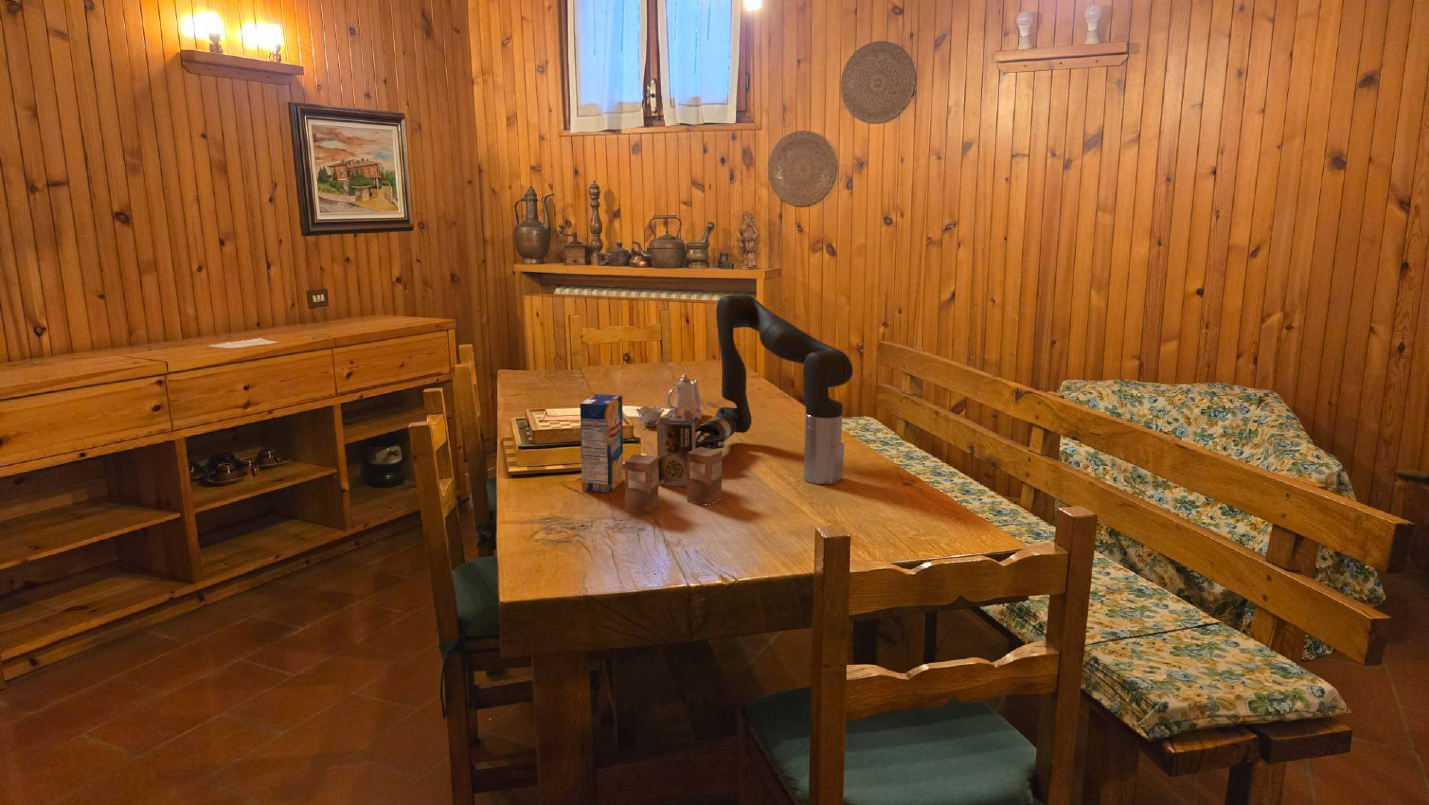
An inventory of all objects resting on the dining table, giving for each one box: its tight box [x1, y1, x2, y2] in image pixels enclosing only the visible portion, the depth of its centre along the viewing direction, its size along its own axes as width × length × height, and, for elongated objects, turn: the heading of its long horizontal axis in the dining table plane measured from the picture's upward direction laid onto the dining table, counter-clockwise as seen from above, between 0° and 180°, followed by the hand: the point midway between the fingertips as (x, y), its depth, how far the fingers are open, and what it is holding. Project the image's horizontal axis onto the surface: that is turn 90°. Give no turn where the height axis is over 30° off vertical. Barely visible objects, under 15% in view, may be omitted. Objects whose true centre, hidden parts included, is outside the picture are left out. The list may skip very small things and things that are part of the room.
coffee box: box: [656, 417, 696, 487], centre depth 234 cm, size 9×6×16 cm
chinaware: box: [635, 373, 705, 428], centre depth 295 cm, size 28×17×17 cm, turn 144°
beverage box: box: [579, 393, 624, 494], centre depth 231 cm, size 7×11×22 cm, turn 166°
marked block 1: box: [624, 454, 659, 515], centre depth 215 cm, size 6×6×12 cm
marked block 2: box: [686, 447, 723, 506], centre depth 222 cm, size 6×6×12 cm
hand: (689, 449), depth 241 cm, fingers closed
